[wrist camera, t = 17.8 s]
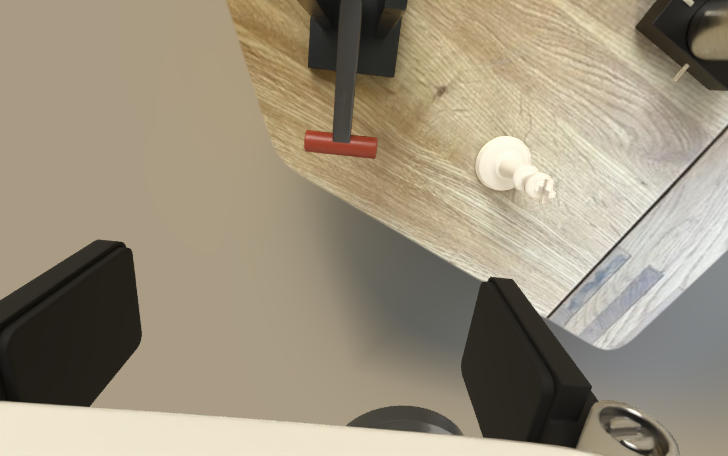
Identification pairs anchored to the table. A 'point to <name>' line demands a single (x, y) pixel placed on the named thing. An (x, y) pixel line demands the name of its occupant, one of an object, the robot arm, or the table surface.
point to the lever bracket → (376, 35)
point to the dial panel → (682, 40)
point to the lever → (344, 92)
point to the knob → (710, 32)
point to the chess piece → (512, 169)
